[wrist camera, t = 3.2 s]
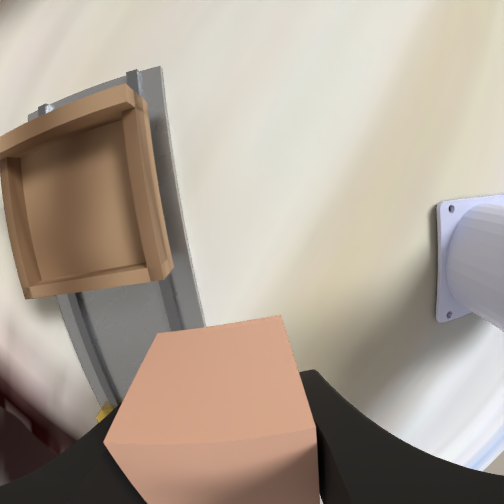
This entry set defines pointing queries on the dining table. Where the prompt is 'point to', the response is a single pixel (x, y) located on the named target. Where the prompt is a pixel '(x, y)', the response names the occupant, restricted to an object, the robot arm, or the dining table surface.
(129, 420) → the block
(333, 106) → the dining table surface
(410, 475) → the robot arm
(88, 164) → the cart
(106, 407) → the rail
